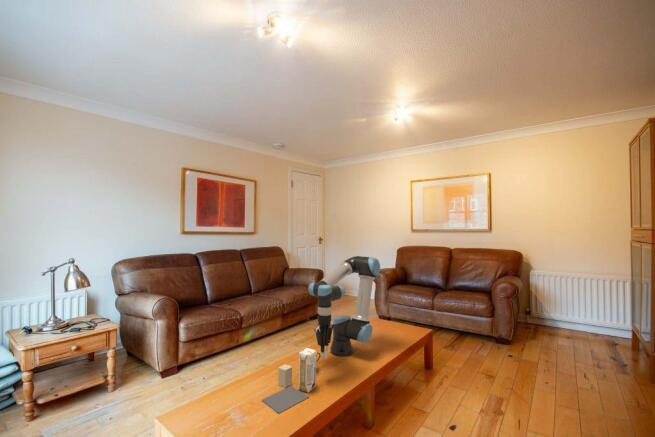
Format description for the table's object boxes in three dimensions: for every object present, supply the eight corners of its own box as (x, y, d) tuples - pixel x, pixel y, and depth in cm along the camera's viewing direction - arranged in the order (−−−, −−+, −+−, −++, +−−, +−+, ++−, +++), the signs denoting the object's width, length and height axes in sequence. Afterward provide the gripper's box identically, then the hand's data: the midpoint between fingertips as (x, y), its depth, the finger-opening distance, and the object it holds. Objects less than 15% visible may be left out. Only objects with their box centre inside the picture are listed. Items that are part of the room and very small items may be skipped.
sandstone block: (284, 380, 161) (285, 364, 162) (291, 383, 159) (292, 366, 159) (278, 384, 157) (278, 367, 158) (285, 387, 154) (285, 370, 155)
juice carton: (317, 386, 156) (318, 349, 157) (308, 394, 149) (309, 355, 149) (306, 382, 160) (306, 346, 160) (296, 389, 153) (296, 352, 153)
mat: (291, 386, 156) (291, 385, 156) (309, 397, 146) (309, 396, 146) (261, 400, 143) (261, 399, 143) (278, 413, 133) (278, 412, 133)
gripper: (328, 310, 171) (327, 351, 170) (311, 314, 162) (310, 358, 161) (337, 313, 166) (337, 356, 165) (320, 317, 156) (319, 363, 156)
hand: (323, 357), depth 163 cm, fingers closed
